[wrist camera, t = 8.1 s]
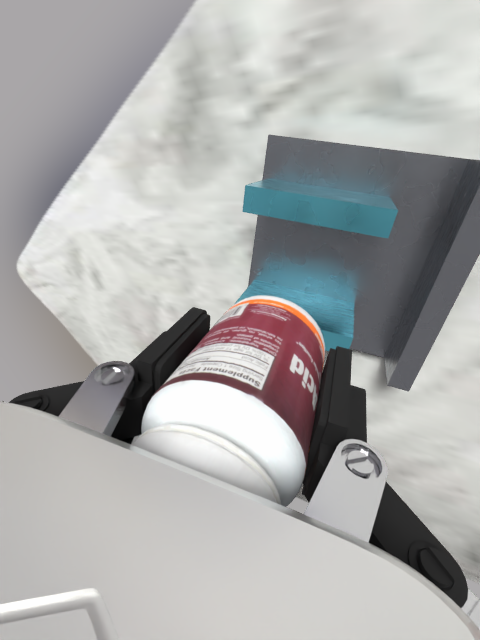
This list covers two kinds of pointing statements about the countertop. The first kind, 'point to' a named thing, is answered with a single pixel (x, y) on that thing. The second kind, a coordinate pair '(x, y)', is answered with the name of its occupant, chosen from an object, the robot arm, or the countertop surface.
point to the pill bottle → (244, 400)
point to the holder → (366, 243)
